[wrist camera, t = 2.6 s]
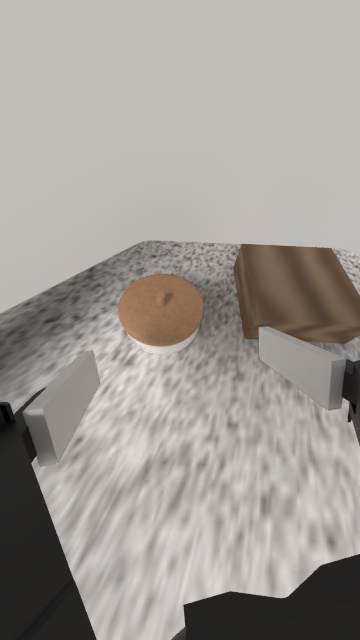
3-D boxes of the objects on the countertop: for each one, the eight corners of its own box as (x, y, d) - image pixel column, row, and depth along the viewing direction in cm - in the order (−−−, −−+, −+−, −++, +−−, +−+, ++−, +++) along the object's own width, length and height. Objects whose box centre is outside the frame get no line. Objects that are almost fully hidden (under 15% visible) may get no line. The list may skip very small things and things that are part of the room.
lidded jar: (143, 301, 34) (133, 258, 26) (203, 313, 33) (212, 272, 25) (119, 356, 28) (97, 324, 20) (190, 373, 27) (197, 346, 19)
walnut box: (243, 339, 31) (257, 319, 25) (233, 269, 39) (241, 243, 34) (343, 344, 30) (377, 325, 25) (310, 273, 39) (331, 248, 34)
